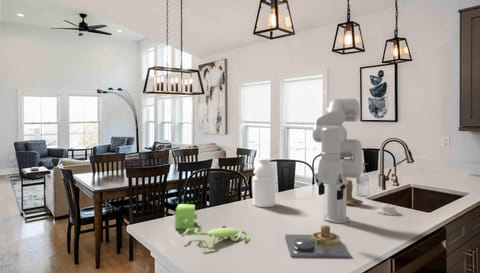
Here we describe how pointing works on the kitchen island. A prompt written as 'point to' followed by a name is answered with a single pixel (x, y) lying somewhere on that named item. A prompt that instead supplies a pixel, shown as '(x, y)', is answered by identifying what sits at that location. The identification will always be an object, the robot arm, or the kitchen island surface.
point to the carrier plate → (315, 246)
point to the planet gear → (325, 233)
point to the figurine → (218, 234)
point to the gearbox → (185, 216)
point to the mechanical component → (387, 209)
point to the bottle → (264, 184)
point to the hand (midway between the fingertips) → (330, 196)
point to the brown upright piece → (349, 197)
